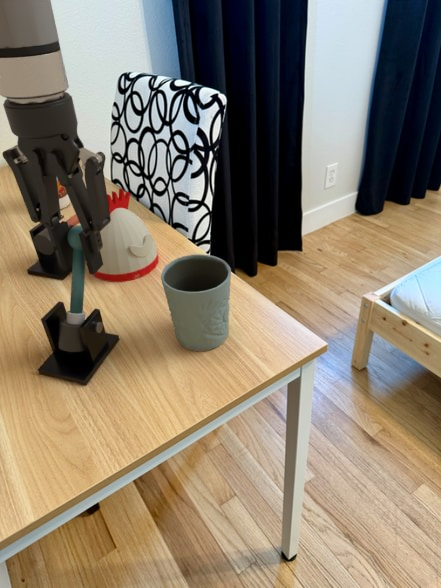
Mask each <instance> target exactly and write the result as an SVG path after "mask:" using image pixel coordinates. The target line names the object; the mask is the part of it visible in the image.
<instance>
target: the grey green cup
mask: <svg viewBox="0 0 441 588" xmlns="http://www.w3.org/2000/svg"><path fill="white" fill-rule="evenodd" d="M160 279H161V284H162V288H163V291H164V293H165V299H166V300H167V302H166V303H167V305H168V309H169V310H168V311H169V312H170V314H169V315H170V317H171V323H172V325H173V328H174V334H175V337H176V340H177V342H178V344H179V345H180V346H182V347H184V348H185V349H187V350H190V351H195V352H205V351H208V352H209V351H211V350H215V349H217V348H218V347H219V346H221V345H223V343H224V342H225V341H227V339H228V336H229V328H230V327H229V326H230V325H229V323H230V319H229V316H230V303H229V301H230V295H231V282H232V281H231V279H232V268H231V267H230V265H229V264H228V262H226V260H224V259H222V258H220V257H217V256H215V255H211V254H198V253H197V254H196V253H195V254H188V255H184V256H181V257H178V258H175V259H174V260H172V261H170V262H168V263H167V264H166V265H165V266H164V268H163V269H162V271H161V275H160Z"/></svg>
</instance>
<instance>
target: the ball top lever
mask: <svg viewBox="0 0 441 588" xmlns="http://www.w3.org/2000/svg"><path fill="white" fill-rule="evenodd" d="M81 231H83V229H82V227H81V224H77V225H76V226H74V227H72V228H71V229H70V230H69V232H68V235H67V240H68V243H69V245H70V246H71V247H72V248H73V263H72V272H71V280H70V281H71V282H70V283H71V284H70V286H71V287H70V303H69V310H66V312H67V319H66V320H62V321H60V329H59V348H60V349H61V350H64V351H69V352H80V351H85V347H84V344H83V340H82V337H81V334H80V331H79V326H80V325H81V324H82V323H83V322H84V321H85V319H86V311H84V299H85V297H84V296H85V280H86V267H87V263H86V260H85V256H84V252H83V248H82V245H81V241H80V237H79V233H80V232H81Z"/></svg>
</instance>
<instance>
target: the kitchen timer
mask: <svg viewBox="0 0 441 588" xmlns="http://www.w3.org/2000/svg"><path fill="white" fill-rule="evenodd" d="M107 198H108V205H109V211H110V218H111V222H110V223H109V224H108V225H107V226H105V227H104V228H103V229H102V230H101V231H100V234H101V239H102V243H103V247H102V249H101V250H100V252H101V256H102V261H103V266H102V267H101V268H100V269H99V270H98V271H97V272H96V273H95V274H94V275H93V276H94V277H96V278H97V279H99V280H101V281H106V282H115V283H116V282H117V283H118V282H119V283H120V282H121V283H122V282H127V281H128V282H129V281H132V280H133V281H134V280H136V279H138V278H142V277H144V276H146V275H147V274H150V273H151V272H152V271H153V270H154V269H155V268H156V267H157V265H158V263H159V253H158V252H159V251H158V247H157V244H156V241H155V240H154V237H153V235H152V234H151V231H150V230H149V228H148V227H147V225H146V224H145V222H144V221H143V220H142V219H141V218H140V217H139V216H138V215H137V214H136V213H134V212H133V211H131V210H130V209H129V204H130V199H131V192H130V191H126V192H125V190H124V189H123V188H119V189H118V194H117V192H116V191H113V190H111V195H110V194H108V193H107Z"/></svg>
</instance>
